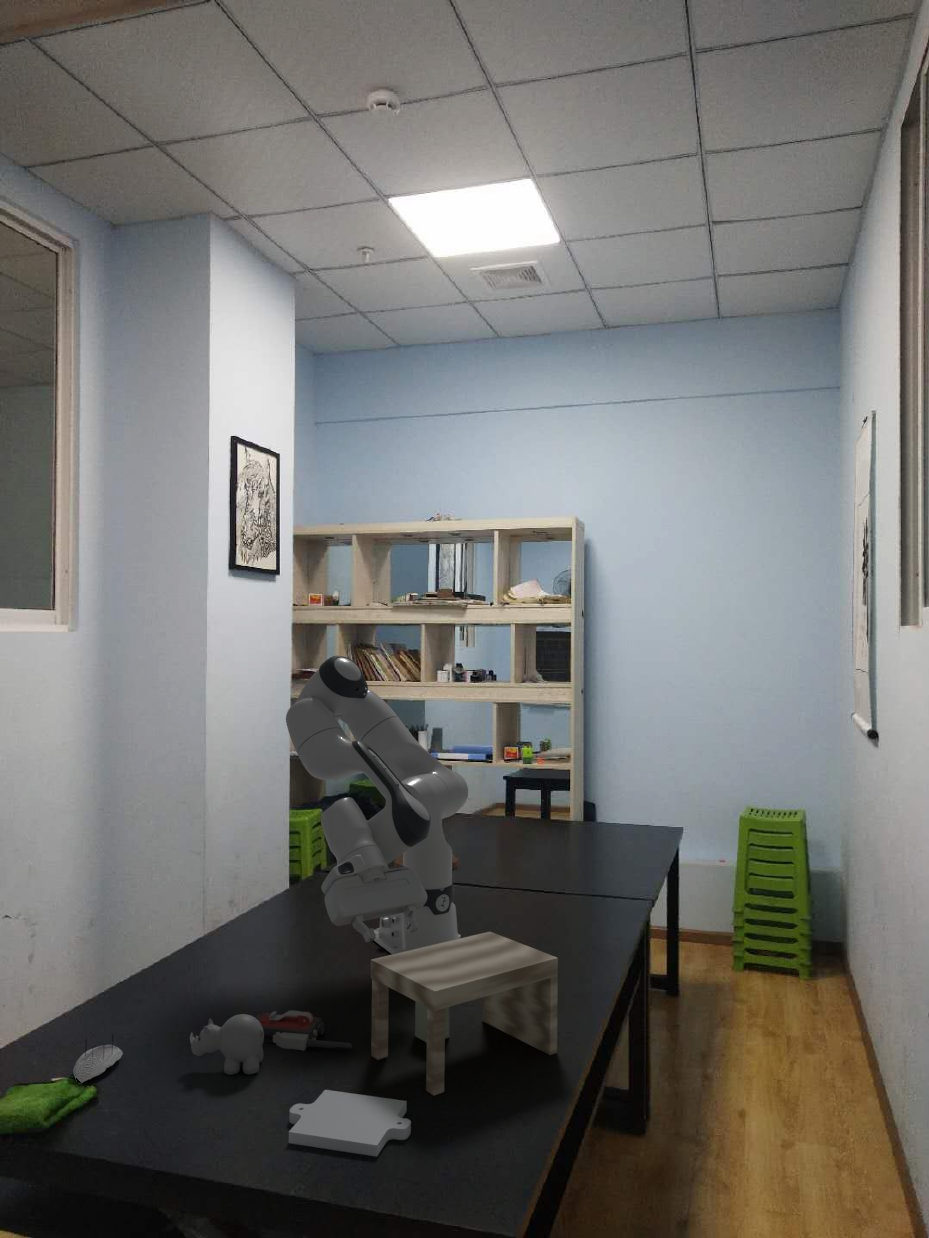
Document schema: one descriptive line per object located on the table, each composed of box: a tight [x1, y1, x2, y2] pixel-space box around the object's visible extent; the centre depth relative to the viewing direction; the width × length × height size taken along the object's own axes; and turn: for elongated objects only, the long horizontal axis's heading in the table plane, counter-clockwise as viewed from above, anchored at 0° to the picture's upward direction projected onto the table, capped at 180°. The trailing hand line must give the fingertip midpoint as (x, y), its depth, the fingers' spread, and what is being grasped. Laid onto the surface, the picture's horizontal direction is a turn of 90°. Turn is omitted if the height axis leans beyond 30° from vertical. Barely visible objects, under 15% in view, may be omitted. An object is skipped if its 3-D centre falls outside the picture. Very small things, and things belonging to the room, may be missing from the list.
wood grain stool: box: [370, 931, 559, 1096], centre depth 165 cm, size 18×26×16 cm
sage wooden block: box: [414, 1001, 450, 1044], centre depth 172 cm, size 4×4×8 cm
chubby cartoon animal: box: [189, 1013, 264, 1076], centre depth 159 cm, size 7×12×8 cm, turn 88°
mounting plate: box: [288, 1089, 412, 1157], centre depth 140 cm, size 18×13×2 cm
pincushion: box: [72, 1034, 124, 1084], centre depth 158 cm, size 12×6×6 cm, turn 173°
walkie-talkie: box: [255, 1010, 353, 1052], centre depth 170 cm, size 9×4×20 cm
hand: (392, 935), depth 181 cm, fingers open, 8 cm apart
